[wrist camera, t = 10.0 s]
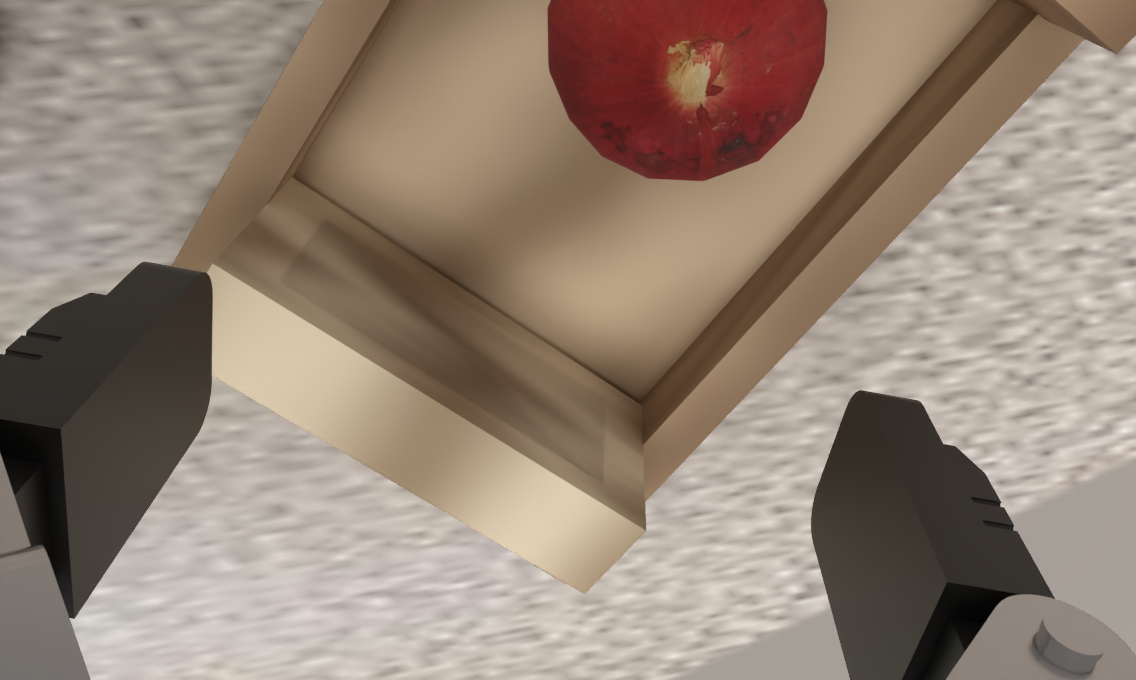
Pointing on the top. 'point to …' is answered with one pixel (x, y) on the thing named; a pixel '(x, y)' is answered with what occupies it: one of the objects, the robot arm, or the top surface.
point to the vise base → (639, 179)
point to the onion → (685, 78)
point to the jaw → (428, 386)
